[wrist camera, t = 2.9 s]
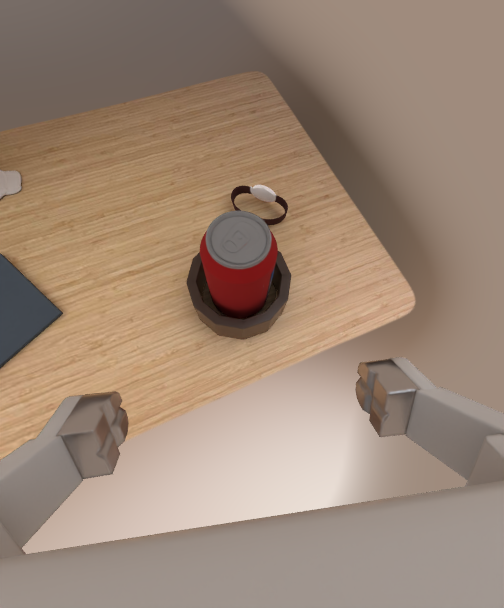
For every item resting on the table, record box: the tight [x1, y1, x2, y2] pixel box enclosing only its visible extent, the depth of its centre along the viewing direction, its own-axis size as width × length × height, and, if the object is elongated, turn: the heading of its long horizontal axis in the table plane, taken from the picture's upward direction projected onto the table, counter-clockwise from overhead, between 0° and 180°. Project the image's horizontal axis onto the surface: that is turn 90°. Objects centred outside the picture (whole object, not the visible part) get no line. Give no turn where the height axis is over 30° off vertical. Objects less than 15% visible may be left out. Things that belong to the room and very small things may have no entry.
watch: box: [231, 185, 288, 225], centre depth 36 cm, size 8×5×4 cm, turn 69°
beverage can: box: [200, 211, 278, 319], centre depth 28 cm, size 7×7×12 cm
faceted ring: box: [187, 251, 291, 339], centre depth 31 cm, size 11×11×4 cm
